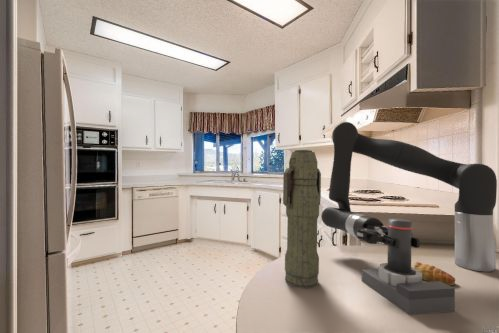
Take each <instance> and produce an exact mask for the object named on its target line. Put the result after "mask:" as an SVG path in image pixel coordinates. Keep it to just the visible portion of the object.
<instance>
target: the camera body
mask: <svg viewBox="0 0 499 333" xmlns="http://www.w3.org/2000/svg"><path fill="white" fill-rule="evenodd" d="M387 263H388V262H385V263H384V262H383V263H380V264H379V265H378V268H377V269H376V268H375V269H373V268H372V269H361V282H363V283H364V284H365V285H367V286H368V287H370V288H371V289H373V291H375V292H377V293H378V294H380V295H381V296H382V297H384V298H385V299H387V300H388V301H389V302H391V303H392V304H393V305H394V306H397V307H398V308H399V309H401V310H402V311H403V312H405V313H406V314H407V315H419V314H420V315H423V314H424V315H425V314H434V313H435V314H436V313H448V312H449V313H450V312H455V311H456V306H455V304H456V299H455V298H456V295H455V294H456V291H455V290H456V289H455V288H454V287H453V286H452V285H451V286H449V285H447V284H444V283H442V282H440V281H435V282H428V281H425V280H423V279H422V272H421V271H419V270H417V269H415V268H413V266H411V272H410V273H399V272H395V271H392V270H390V269H389V268H388V267H387Z"/></svg>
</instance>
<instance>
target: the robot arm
mask: <svg viewBox="0 0 499 333" xmlns="http://www.w3.org/2000/svg"><path fill="white" fill-rule="evenodd" d="M331 134H332V135H331V139H332V140H331V141H332V144H333V162H332V163H333V164H332V169H331V175H330V181H329V190H328V192H329V193H328V198H329V200H330V201H333V202H335V203H337V205H338V207H332V206H331V207H330V206H329V207H326V208H324V209H323V210H322V213H321V221H322V222H323V224H324V225H325V226H327V227H329V228H333V229H336V230H340V231H343V232H345V233H347V234H349V235H351V236H353V237H354V238H356V239H358V240H361V241H363V242H365V243H367V244H371V245H377V244H380V245H386V246H387V247H388V246H391V247H393V248H398V247H399V240H398V239H397V238H394V237H391V236H388V226H387V225H384V224H383V222H382V220H380V219H378V218H376V217H372V216H371V215H370V216H369V215H366V214H361V213H356V212H352V209H351V204H350V199H349V196H350V188H351V187H350V186H351V169H352V168H351V167H352V159H353V158H352V157H353V153H355V154H358V155H359V154H360V155H363V156H366V157H368V158H370V159H374V160H375V161H378V162H380V163H383V164H386V165H389V166H392V167H395V168H398V169H400V170H402V171H403V170H404V171H407V172H410V173H414V174H417V175H422V176H426V177H430V178H433V179H436V180H438V181H440V182H443V183H444V184H447V185H450V186H452V187H454V188H456V189H458V198H457V201H456V202H455V203H454V263H455V265H457V266H459V267H462V268H465V269H467V270H472V271H478V272H486V273H491V272H494V270H496V269H497V266H496V265H497V260H496V259H497V258H496V257H497V256H496V246H497V244H496V239H495V237H494V209H495V207H496V204H497V192H498V188H497V187H498V186H497V185H498V179H497V176H496V172H495V171H494V170H493V169H492V167H490V166H489V165H488V164H487V165H486V164H483V163H460V162H456V161H452V160H449V159H445V158H442V157H439V156H437V155H435V154H433V153H431V152H429V151H427V150H425V149H423V148H422V147H419V146H417V145H415V144H414V145H413V144H410V143H407V142H404V141H400V140H393V139H384V138H374V137H370V136H366V135H364V134H361V133H359V131H358V128H357V127H356V125H354V124H353V123H352V122H349V121H343V122H340V123H338V124H337V125H336V126H334V129H333V131H332V133H331ZM420 244H421V243H420V239H419V238H418V237H414V236H413V233H412V235H411V248H412V247H413V248H416V249H417V248H420Z"/></svg>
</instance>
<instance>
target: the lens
mask: <svg viewBox="0 0 499 333" xmlns="http://www.w3.org/2000/svg"><path fill="white" fill-rule="evenodd" d="M412 224H413V223H412V221H411V220H410V219H409V220H408V219H405V218H394V217H393V218H388V219H387V225H386V226H387V227H388V236H391V237H394V238H397V239H398V240H399V247H398V248H393V247H391V246H388V245H387V262H386V263H387V267H388V268H389V269H390V270H392V271H395V272H399V273H410V272H411V267H412V246H411V235H412V230H413V226H412ZM412 236H413V235H412Z"/></svg>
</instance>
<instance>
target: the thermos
mask: <svg viewBox="0 0 499 333" xmlns="http://www.w3.org/2000/svg"><path fill="white" fill-rule="evenodd" d="M282 184H283V186H282V187H283V188H282V190H283V191H282V192H283V194H282V204H283V205H284V206H285V214H286V217H287V228H286V230H287V232H286V233H287V234H286V235H287V237H286V238H287V239H286V240H287V242H286V251H285V253H284V270H285V271H284V272H285V277H284V278H285V280H284V281H285V282H286V283H287V284H289V285H290V286H292V287H295V288H301V289H311V288H315V287H317V286H318V285H319V277H318V276H319V274H320V271H319V270H320V256H319V253H318V219H319V216H320V205H321V198H322V197H321V196H322V194H321V193H322V191H321V190H322V187H321V186H322V172H321V171H320V169H319V168H318V160H317V156H316V152H315V151H313V150H310V149H298V150H294V151H293V152H291V155H290V157H289V161H288V167H287V168H286V169H285V170H284V172H283V182H282Z"/></svg>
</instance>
